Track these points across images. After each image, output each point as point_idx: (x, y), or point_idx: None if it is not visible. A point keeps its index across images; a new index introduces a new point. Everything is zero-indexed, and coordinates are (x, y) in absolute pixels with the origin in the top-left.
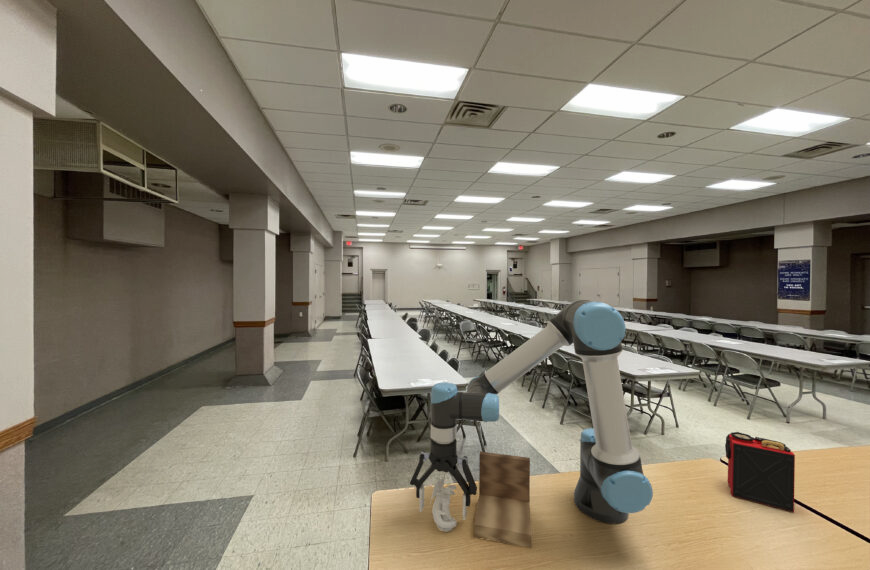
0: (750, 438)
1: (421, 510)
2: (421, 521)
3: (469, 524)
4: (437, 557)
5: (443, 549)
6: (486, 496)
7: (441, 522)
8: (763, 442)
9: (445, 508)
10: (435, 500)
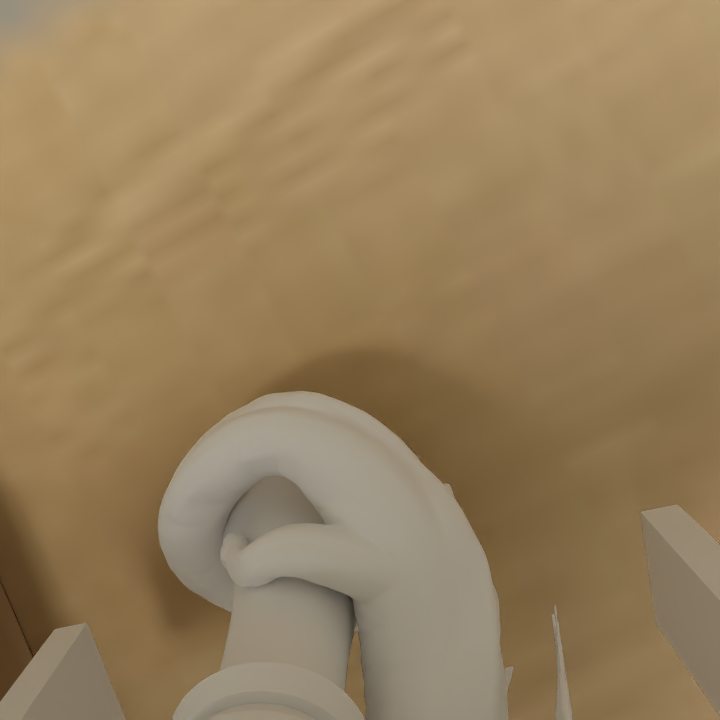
0: None
1: (653, 519)
2: (590, 446)
3: (92, 630)
4: (165, 40)
5: (163, 186)
6: None
7: (273, 428)
8: None
9: (254, 629)
10: (484, 708)
